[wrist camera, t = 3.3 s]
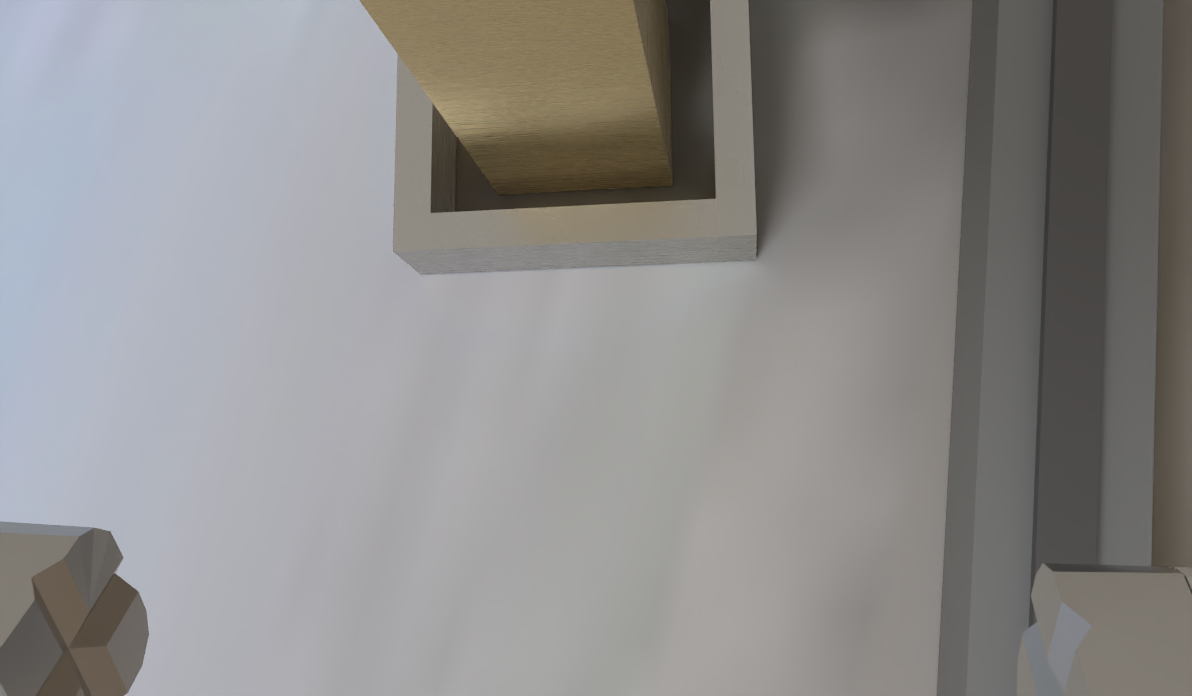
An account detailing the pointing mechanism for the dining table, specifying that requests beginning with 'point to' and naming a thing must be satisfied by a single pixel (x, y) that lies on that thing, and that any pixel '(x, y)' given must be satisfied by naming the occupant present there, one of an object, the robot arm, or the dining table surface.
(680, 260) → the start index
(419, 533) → the dining table surface
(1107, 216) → the long grey bar
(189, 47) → the dining table surface
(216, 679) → the dining table surface
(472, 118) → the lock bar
